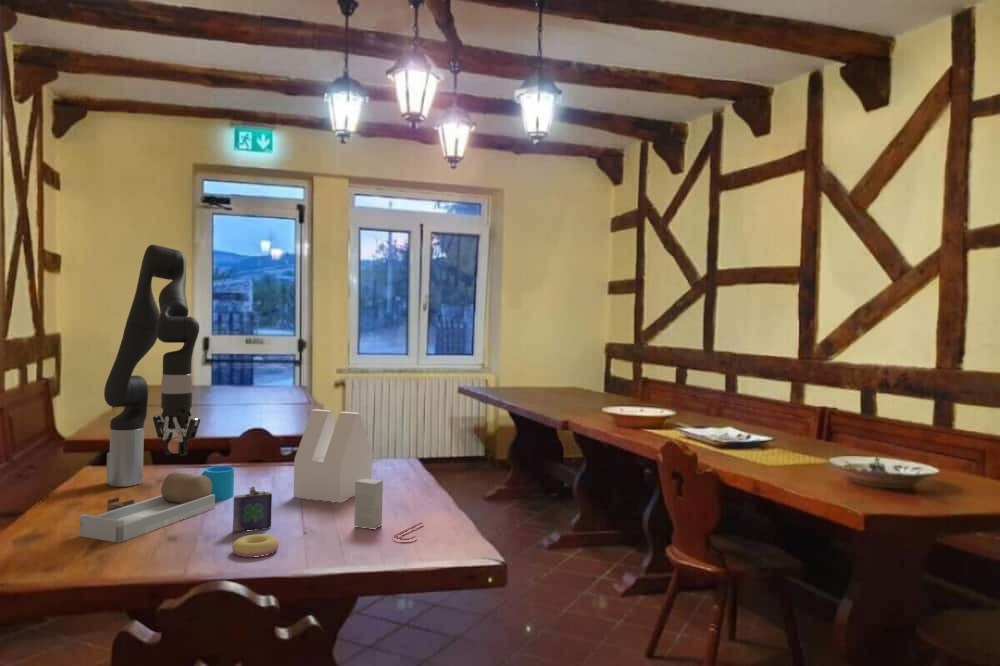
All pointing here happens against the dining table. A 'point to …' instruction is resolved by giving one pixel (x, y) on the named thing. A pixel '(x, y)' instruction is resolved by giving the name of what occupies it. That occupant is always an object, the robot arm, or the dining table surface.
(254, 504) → the flask
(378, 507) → the skincare box
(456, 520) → the dining table surface
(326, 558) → the dining table surface
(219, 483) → the mug
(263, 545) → the donut
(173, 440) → the ball
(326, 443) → the white slotted block
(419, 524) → the candy cane
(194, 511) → the lane
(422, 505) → the dining table surface
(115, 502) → the brown wooden bracket block
